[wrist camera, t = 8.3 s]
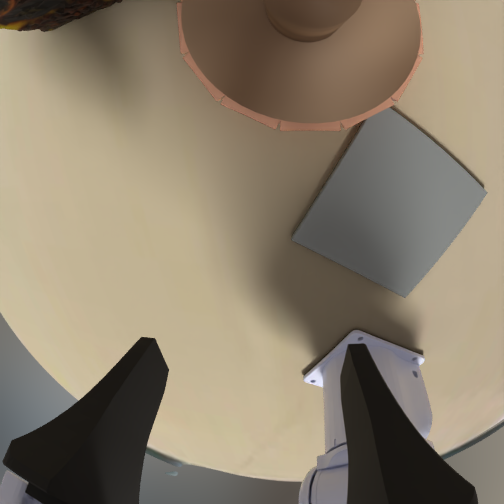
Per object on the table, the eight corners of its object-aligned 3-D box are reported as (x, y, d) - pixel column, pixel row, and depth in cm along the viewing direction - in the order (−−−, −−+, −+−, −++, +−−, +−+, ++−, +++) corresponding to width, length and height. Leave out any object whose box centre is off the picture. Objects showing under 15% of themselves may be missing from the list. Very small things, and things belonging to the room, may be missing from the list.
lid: (438, -5, 8) (489, -25, 4) (358, 157, 13) (388, 193, 9) (240, -88, 6) (222, -136, 2) (157, 76, 12) (104, 79, 8)
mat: (484, 190, 15) (487, 192, 15) (403, 294, 21) (405, 298, 20) (376, 99, 14) (378, 100, 13) (291, 237, 19) (291, 240, 19)
